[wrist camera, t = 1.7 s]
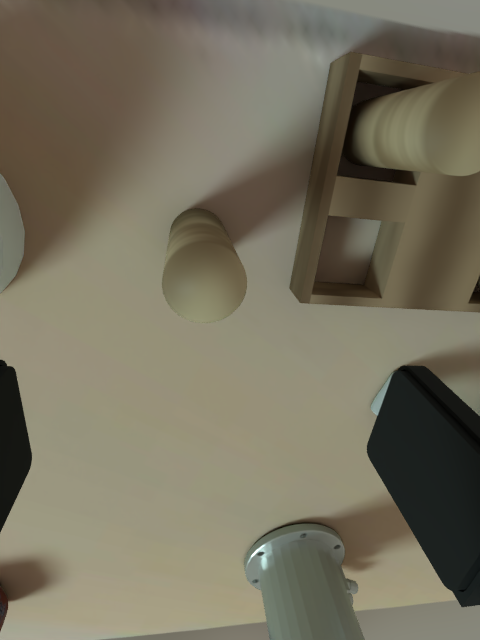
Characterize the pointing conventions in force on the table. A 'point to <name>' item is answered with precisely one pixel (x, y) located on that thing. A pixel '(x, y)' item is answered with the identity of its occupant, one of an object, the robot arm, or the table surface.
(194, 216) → the loose peg
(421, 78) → the wooden peg tray
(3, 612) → the snack package
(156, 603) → the table surface
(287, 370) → the table surface
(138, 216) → the table surface
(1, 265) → the honey pot
